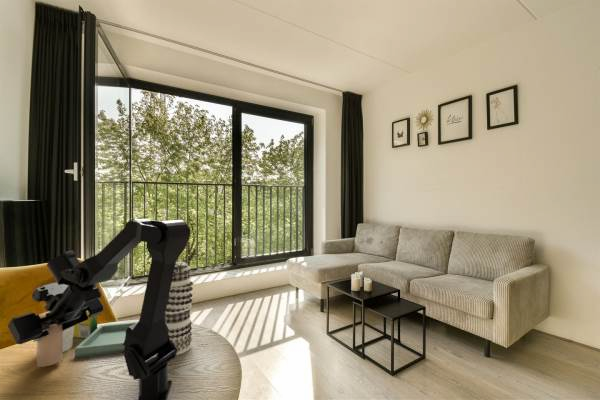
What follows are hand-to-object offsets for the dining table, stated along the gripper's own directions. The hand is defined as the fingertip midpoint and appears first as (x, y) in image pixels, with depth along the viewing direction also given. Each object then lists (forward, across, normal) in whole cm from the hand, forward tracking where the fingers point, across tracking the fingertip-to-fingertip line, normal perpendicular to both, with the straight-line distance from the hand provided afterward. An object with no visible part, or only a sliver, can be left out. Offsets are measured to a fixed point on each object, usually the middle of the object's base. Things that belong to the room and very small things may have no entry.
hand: (46, 335), depth 72 cm
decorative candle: (-13, -18, +24) cm, 33 cm away
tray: (+2, -15, +10) cm, 18 cm away
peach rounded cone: (+4, 0, +6) cm, 7 cm away
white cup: (+10, -6, +1) cm, 12 cm away
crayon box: (+12, -14, 0) cm, 19 cm away
